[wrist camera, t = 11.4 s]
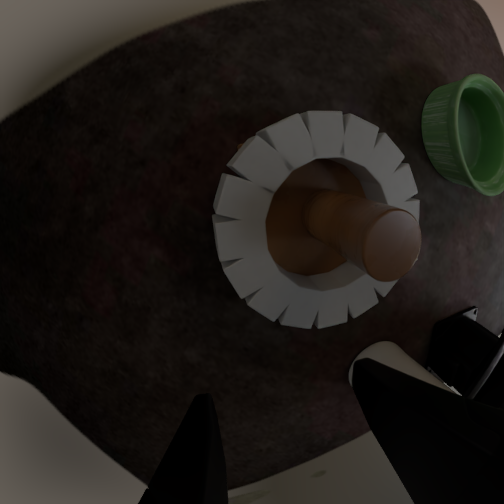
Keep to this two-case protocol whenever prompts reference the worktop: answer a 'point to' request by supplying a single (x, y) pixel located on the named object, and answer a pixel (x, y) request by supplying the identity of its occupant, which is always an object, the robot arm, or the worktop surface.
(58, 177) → the worktop surface
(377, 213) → the wooden peg stand
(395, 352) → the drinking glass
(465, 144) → the ramekin
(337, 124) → the segmented block ring
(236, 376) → the worktop surface
